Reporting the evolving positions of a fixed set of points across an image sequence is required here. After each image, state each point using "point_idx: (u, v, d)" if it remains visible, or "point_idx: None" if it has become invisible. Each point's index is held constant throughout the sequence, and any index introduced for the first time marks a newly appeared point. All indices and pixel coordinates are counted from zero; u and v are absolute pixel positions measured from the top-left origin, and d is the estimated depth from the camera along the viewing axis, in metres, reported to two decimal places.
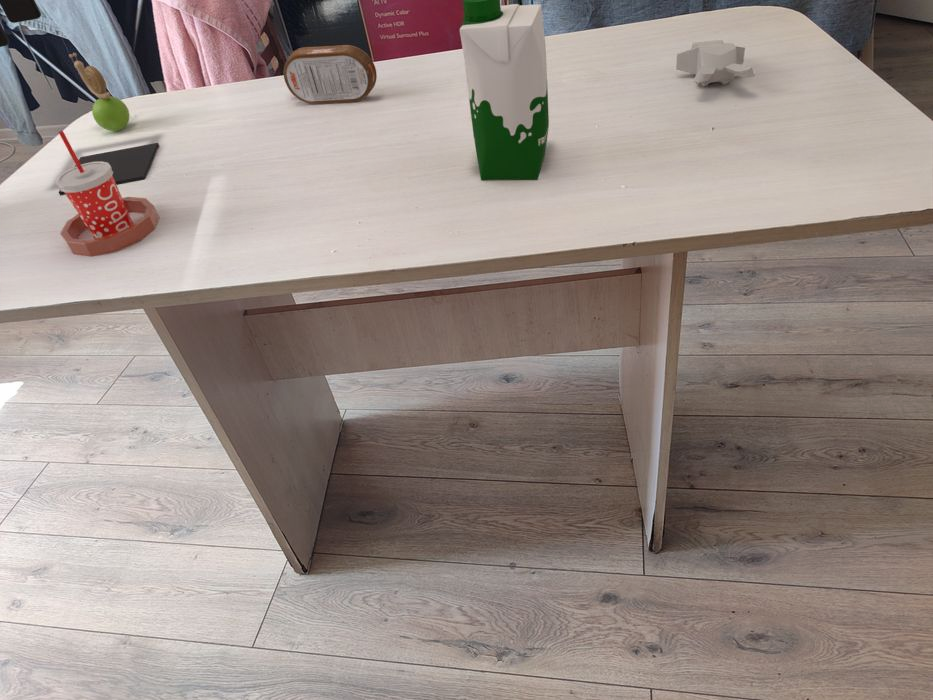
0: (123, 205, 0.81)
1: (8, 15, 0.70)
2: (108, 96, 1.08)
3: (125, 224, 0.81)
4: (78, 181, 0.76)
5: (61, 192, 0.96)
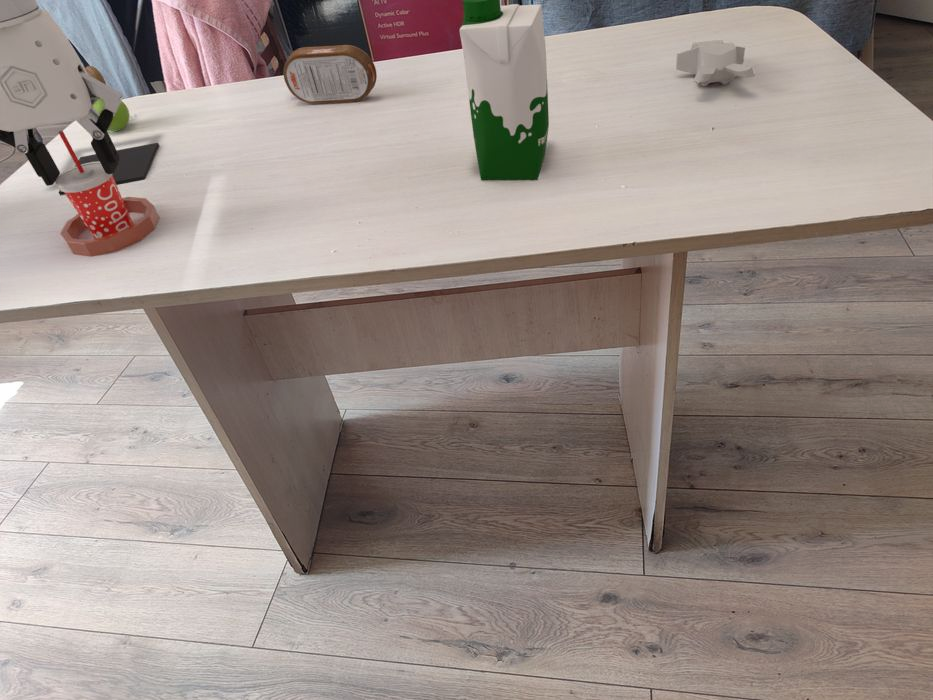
0: (123, 205, 0.81)
1: (50, 178, 0.76)
2: None
3: (125, 224, 0.81)
4: (78, 181, 0.76)
5: (61, 192, 0.96)
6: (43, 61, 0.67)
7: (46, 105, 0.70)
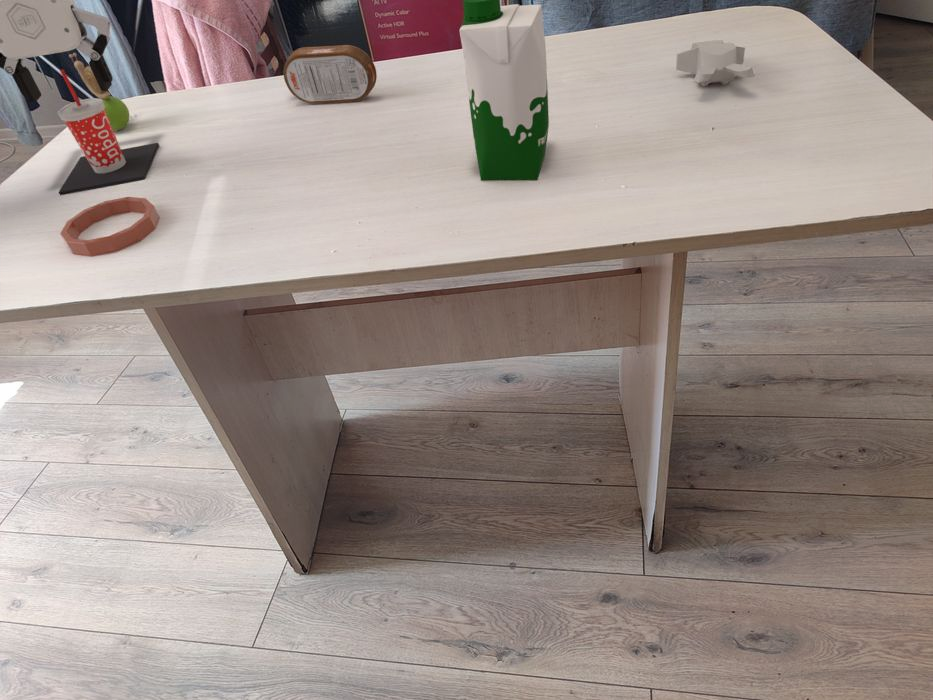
0: (113, 135, 0.98)
1: (33, 97, 0.91)
2: (108, 96, 1.08)
3: (115, 151, 0.98)
4: (76, 112, 0.93)
5: (61, 192, 0.96)
6: None
7: (44, 37, 0.86)
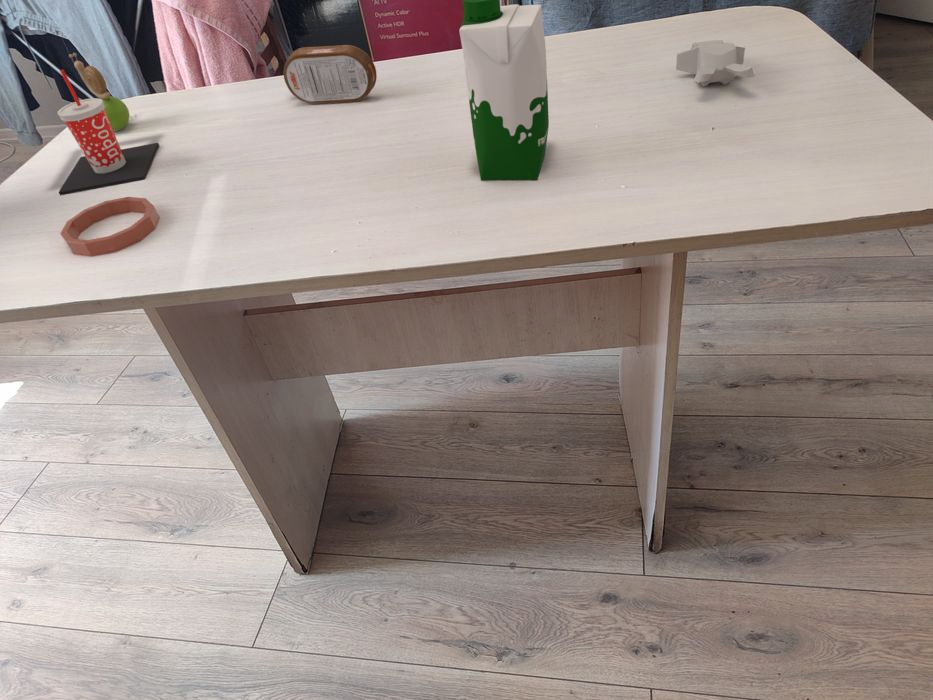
0: (113, 135, 0.98)
1: None
2: (108, 96, 1.08)
3: (115, 151, 0.98)
4: (76, 112, 0.93)
5: (61, 192, 0.96)
6: None
7: None
